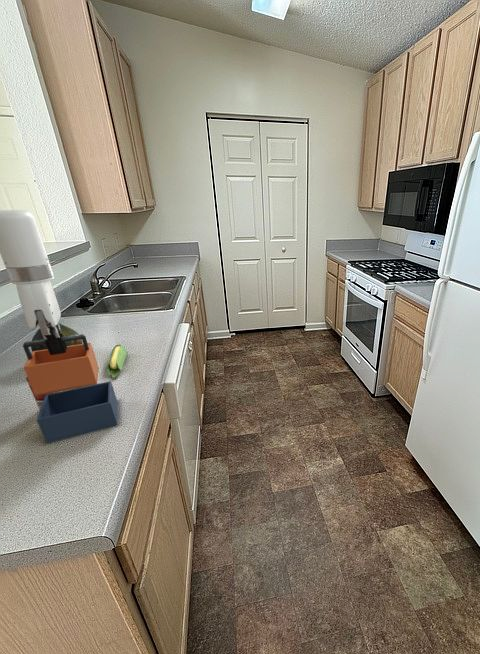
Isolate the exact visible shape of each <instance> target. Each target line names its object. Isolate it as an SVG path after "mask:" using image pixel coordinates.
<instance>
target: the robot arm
mask: <svg viewBox="0 0 480 654" xmlns="http://www.w3.org/2000/svg"><path fill="white" fill-rule="evenodd" d="M0 257H1V259H2V262H3V265H4V267H5V270H6V272H7V275H8V278H9V280H10V282H11V284H13V285H15V286H16V291H17V295H18V298H19V299H18V300H19V302H20V306H21V308H22V312H23V315H24V318H25V321H26V324H27V328H28V329H29V330H31V331H34V330H36V329H37V327H39V329H40V330H41V333H42V335H43V337H44V340H45V343H46V345H47V348H48V351H49V354H50V355H56V354H62V353H66V349H67V345H66V342H63V340H62V337H63V334H59V333H61V329H60V325H59V323H60V322H59V321H60V319H61V316H62V312H61V308H60V305H59V302H58V299H57V296H56V293H55V291H54V287H53V285H52V282H51V281H53V280H55V275H54V272H53V269H52V265H51V263H50V259H49V257H48V253H47V249H46V247H45V244H44V241H43V239H42V235H41V233H40V228H39V226H38V223H37V220H36V218H35V216H34V215H33V213H32V212H30V211H28V210H24V209H0Z"/></svg>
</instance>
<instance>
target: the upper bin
mask: <svg viewBox="0 0 480 654" xmlns="http://www.w3.org/2000/svg"><path fill="white" fill-rule="evenodd" d="M78 334H79V335H71V336H64V337H62V340H63V342H66V341H73V340H79V339H82V343H83V344H78V345H72V346H67V349H66V353H62V354H56V355H50V354H49V351H48V349H46V350H39V351H33V352H32V350H31V347H32V346H39V345H45V344H46V343H45V340H44V339H43V340H36V341H32V340H29V341H25V342H23V344H22V347H23V350H24V353H25V356H26V358H27V361H26V362H25V364H24V366H23V370H24V372H25V376H26V377H28V380H29V382H30V384H31V387H32V389H33V392H34V394H35V396H40V395H45V394H50V393H55V392H61V391H66V390H71V389H76V388H80V387H86V386H91V385H96V384H98V379H99V369H100V368H99V364H98V361H97V358H96V354H95V351H94V348H93V345H92V342H88V340H87V336H86V335H85V334H84V333H78Z"/></svg>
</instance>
